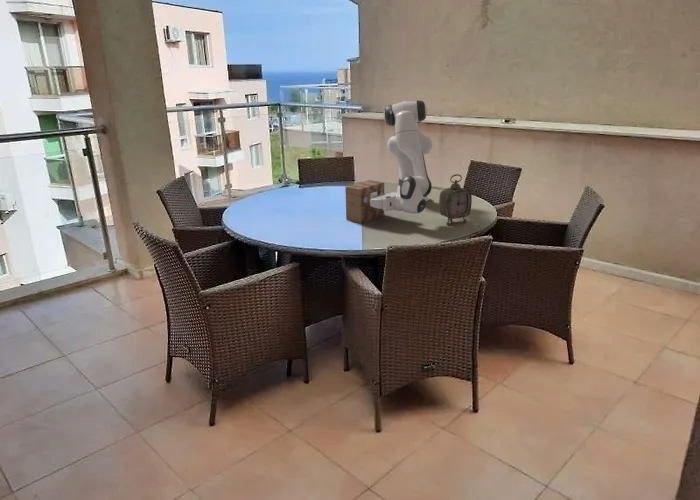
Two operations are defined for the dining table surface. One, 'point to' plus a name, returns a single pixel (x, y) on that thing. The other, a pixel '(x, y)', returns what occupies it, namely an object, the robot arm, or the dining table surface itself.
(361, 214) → the wooden block with knobs
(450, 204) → the tabletop clock
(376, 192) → the cream button
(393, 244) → the dining table surface
